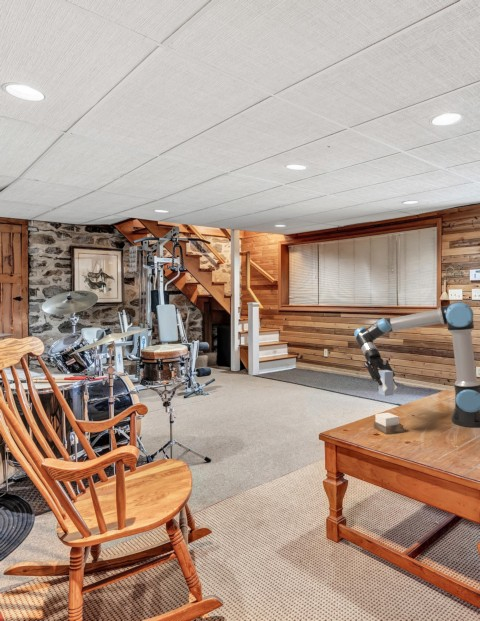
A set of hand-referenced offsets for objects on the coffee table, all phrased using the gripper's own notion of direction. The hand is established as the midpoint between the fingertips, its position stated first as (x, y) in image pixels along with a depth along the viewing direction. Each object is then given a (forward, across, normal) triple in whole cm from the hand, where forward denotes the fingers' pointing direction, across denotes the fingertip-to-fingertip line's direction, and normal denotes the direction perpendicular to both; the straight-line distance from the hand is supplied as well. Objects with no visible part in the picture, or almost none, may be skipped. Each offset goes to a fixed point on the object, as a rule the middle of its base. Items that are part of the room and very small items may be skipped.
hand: (390, 389), depth 207 cm
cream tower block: (+11, 0, -15) cm, 18 cm away
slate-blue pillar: (0, 0, -5) cm, 5 cm away
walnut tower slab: (+14, -1, -18) cm, 22 cm away
